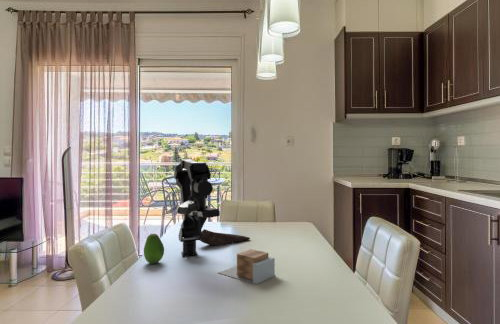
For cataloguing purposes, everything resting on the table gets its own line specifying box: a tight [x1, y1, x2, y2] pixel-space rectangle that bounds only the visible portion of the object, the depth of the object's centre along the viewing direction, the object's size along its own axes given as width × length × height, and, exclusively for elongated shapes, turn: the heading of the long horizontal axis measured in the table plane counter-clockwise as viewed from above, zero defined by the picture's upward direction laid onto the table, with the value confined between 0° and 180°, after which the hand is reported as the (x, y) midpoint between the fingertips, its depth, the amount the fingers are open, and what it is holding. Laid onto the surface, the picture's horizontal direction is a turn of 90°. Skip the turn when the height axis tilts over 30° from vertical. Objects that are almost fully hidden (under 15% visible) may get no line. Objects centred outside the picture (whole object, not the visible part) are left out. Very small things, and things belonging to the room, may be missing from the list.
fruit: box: [143, 233, 165, 265], centre depth 142 cm, size 8×8×12 cm
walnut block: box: [236, 249, 269, 280], centre depth 126 cm, size 8×8×8 cm
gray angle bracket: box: [218, 256, 276, 285], centre depth 128 cm, size 18×11×6 cm, turn 51°
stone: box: [199, 229, 251, 246], centre depth 173 cm, size 28×6×10 cm, turn 121°
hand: (198, 232), depth 141 cm, fingers closed
